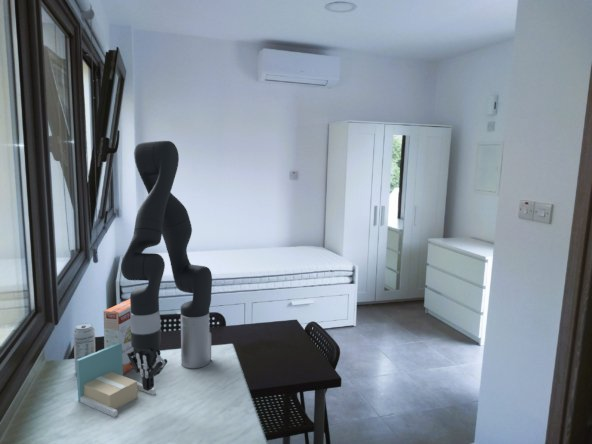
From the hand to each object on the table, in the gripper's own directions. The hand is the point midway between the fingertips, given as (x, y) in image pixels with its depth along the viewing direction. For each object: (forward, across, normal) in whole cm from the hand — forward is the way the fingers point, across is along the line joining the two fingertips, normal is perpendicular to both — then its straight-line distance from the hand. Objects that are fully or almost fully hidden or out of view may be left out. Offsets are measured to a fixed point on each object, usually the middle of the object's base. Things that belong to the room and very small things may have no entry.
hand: (148, 388), depth 116 cm
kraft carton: (+6, +13, +2) cm, 14 cm away
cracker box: (+6, +25, -14) cm, 29 cm away
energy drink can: (+6, +33, -5) cm, 34 cm away
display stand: (+6, +11, 0) cm, 13 cm away
